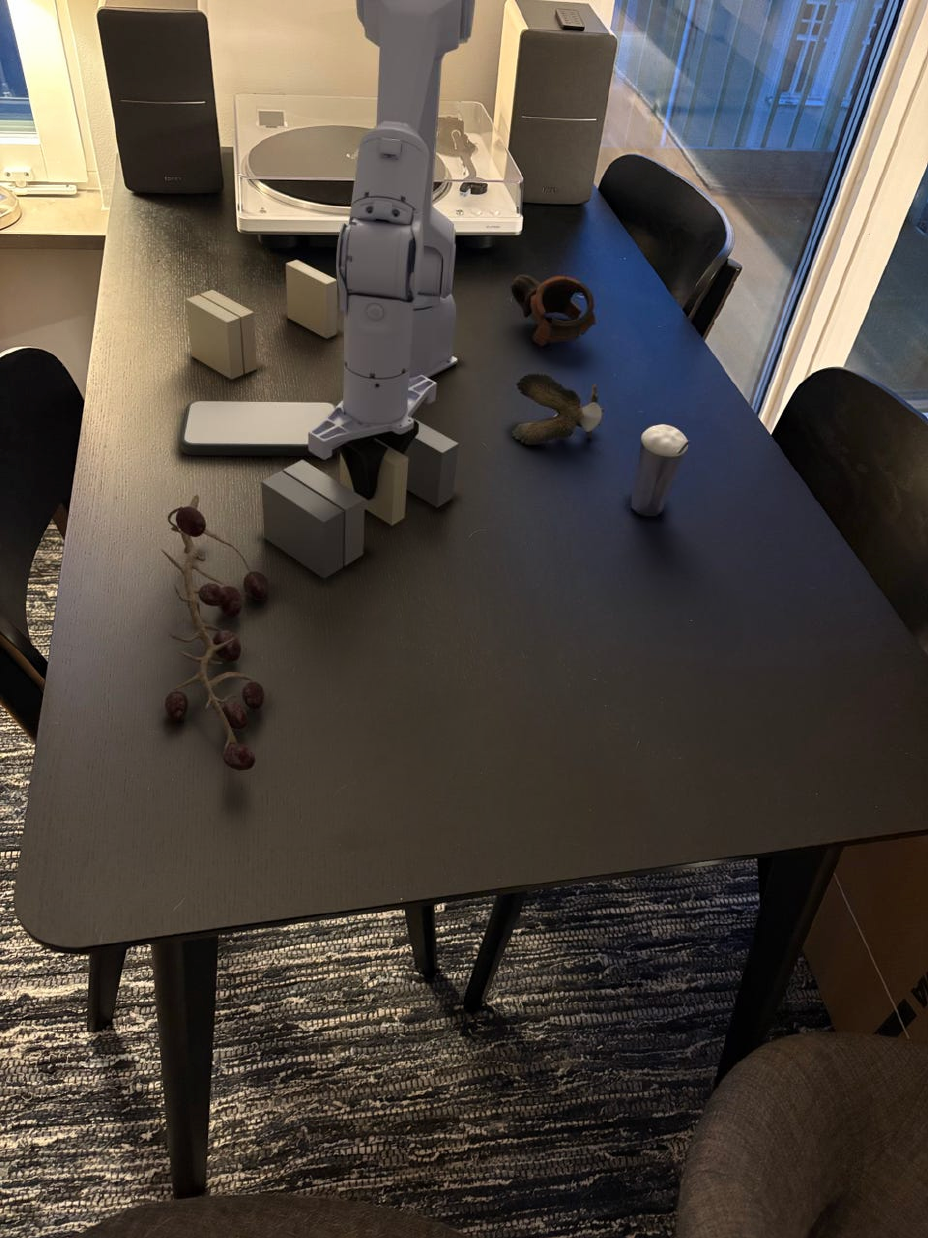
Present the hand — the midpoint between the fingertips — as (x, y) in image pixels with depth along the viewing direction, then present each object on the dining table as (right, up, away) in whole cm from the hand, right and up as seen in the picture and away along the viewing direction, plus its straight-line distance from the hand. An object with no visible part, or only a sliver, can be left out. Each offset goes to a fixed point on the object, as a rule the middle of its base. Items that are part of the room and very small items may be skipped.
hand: (372, 489), depth 93 cm
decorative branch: (-12, -14, -12) cm, 22 cm away
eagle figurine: (+19, +8, +15) cm, 25 cm away
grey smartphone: (-13, +7, +10) cm, 17 cm away
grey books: (-1, -3, +1) cm, 3 cm away
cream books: (-14, +21, +23) cm, 35 cm away
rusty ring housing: (+20, +25, +33) cm, 45 cm away
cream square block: (0, -1, +1) cm, 2 cm away
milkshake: (+28, -1, +6) cm, 28 cm away
